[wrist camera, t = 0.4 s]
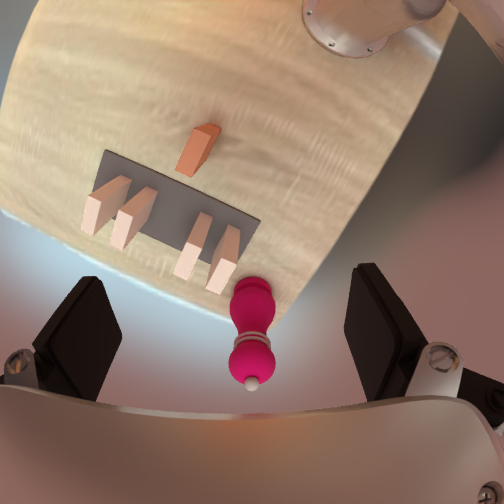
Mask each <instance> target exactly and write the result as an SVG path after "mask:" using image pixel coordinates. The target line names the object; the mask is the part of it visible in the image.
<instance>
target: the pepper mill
mask: <svg viewBox="0 0 504 504" xmlns="http://www.w3.org/2000/svg"><path fill="white" fill-rule="evenodd" d="M275 307H276V306H275V301H274V299H273V297H272V294H271V288H270V286H269V284H268V283H267V282H266V281H264V280H263V279H260V278H257V277H248V278H245V279H243V280H241V281H240V282H238V284H237V285H236V287H235V290H234V296H233V298H232V299H231V302H230V315H231V318H232V321H233V323H234V324H235V326H236V328H237V330H238V337H236V339H235V341H234V348H233V349H234V350H233V352H232V353H231V355H230V357H229V369H230V372H231V374H232V376H233V377H234V378H235V379H236V380H237V381H239V382H240V383H243V384H245V387H246V389H248V390H249V391H254V390H256V389H257V388H258V387H259V384H261V383H263V382H266V381H267V380H268V379H269V378H270V377H271V376H272V375H273V373H274V370H275V364H276V362H275V357H274V355H273V353H272V351H271V344H270V343H271V342H270V340H269V338H268V337H267V336H266V331H267V329H268V327H269V326H270V324H271V322H272V321H273V318H274V315H275Z"/></svg>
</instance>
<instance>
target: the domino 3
mask: <svg viewBox="0 0 504 504" xmlns="http://www.w3.org/2000/svg"><path fill="white" fill-rule="evenodd" d="M220 131H221V129H220V128H218V127H216V126H214V125H212V124H209V123H207V124H204V125H202V126H199V127H196V128H194V129H193V131H192V133H191V136H190V138H189V140H188V142H187V144H186V146H185V148H184V151H183V153H182V155H181V157H180V160H179V162H178V164H177V166H176V169H175V170H176V171H178V172H180V173H182V174H185V175H187V176H189V177H192V176H193V175H194V174H195V173H196V172H197V170H198V169H199V168H200V167H201V166H202V165H203V163H204V162H205V161H206V159H207V157H208V155H209V153H210V151H211V149H212V147H213V145H214V143H215V141H216V139H217V137H218V135H219V133H220Z"/></svg>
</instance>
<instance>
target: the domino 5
mask: <svg viewBox="0 0 504 504" xmlns="http://www.w3.org/2000/svg"><path fill="white" fill-rule="evenodd" d="M240 231H241V230H239V229H237V228H235V227H233V226H231V225H229V224H228V226H227V228H226V230H225V232H224V234H223V236H222V238H221V239H220V241H219V243H218V245H217V247H216V249H215V251H214V255H213V259H212V263H211V267H210V271H209V275H208V279H207V283H206V288H205V289H207V290H210V291H212V292H214V293H217V294H219V295H220V293H221V292H222V290H223V288H224V287H225V285H226V283H227V281H228V280H229V278H230V276H231V274H232V273H233V271H234V269H235V268H236V266H237V261H238V251H239V241H240Z"/></svg>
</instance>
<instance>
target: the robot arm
mask: <svg viewBox="0 0 504 504" xmlns="http://www.w3.org/2000/svg"><path fill="white" fill-rule="evenodd" d="M449 1H450V2H451V3H452V4H453V6H454V7H456V8H457V9H458V10H459V11H460V12H461V13H462V14H463V15H464V16H465V17H466V18H467V19H468V21H469V22H470V23H471V24H472V25H473V27H474V28H475V29H476V30H477V31H478V33H479V34H480V35H481V36H482V38H483V39H484V40H485V41H486V43H487V44H488V45H489V47H490V48H491V49H492V50H493V52H494V53H495V55H496V56H497V57H498V59H499V60H500V62H501V63H502V64H503V65H504V0H449ZM445 3H446V0H305V1H304V4H303V10H302V14H303V21H304V23H305V26H306V28H307V30H308V31H309V33H310V35H311V36H312V37H313V38H314V39H315V41H317V42H318V43H319V44H320V45H321V46H322V47H324V48H326V49H327V50H329V51H331V52H333V53H335V54H337V55H341V56H344V57H350V58H362V57H367V56H370V55H373V54H375V53H376V52H378V51H380V50H381V49H382V48H383V47H384V46H385V44H386V42H387V41H388V38H389V35H391V34H394V33H396V32H398V31H401V30H403V29H406V28H408V27H411V26H414V25H416V24H419V23H422V22H424V21H427V20H429V19H431V18H433V17H435V16H436V15H437V14H438V13H439V12H440V11H441V10H442V8H443V7H444V5H445ZM307 13H309V14H310V16H309V15H307ZM329 44H331V45H332V47H330V46H329ZM367 49H368V50H369V52H368V50H367ZM344 333H345V336H346V339H347V342H348V345H349V348H350V351H351V353H352V356H353V359H354V362H355V365H356V368H357V371H358V374H359V377H360V380H361V383H362V386H363V389H364V392H365V395H366V398H367V402H365V403H359V404H353V405H346V406H339V407H330V408H323V409H313V410H303V411H292V412H279V413H257V414H204V413H181V412H169V411H157V410H148V409H139V408H132V407H124V406H117V405H111V404H105V403H99V402H96V399H97V397H98V394H99V392H100V389H101V387H102V385H103V382H104V380H105V377H106V375H107V373H108V370H109V368H110V366H111V363H112V361H113V359H114V356H115V354H116V352H117V350H118V347H119V345H120V343H121V340H122V333H121V330H120V327H119V325H118V323H117V320H116V318H115V315H114V313H113V310H112V307H111V305H110V302H109V299H108V297H107V294H106V291H105V288H104V286H103V283H102V281H101V280H99V279H98V278H97V277H96V276H84V277H82V278H81V279H80V280H79V282H78V283H77V284H76V285H75V286H74V288H73V289H72V290H71V292H70V293H69V294H68V295H67V297H66V298H65V299H64V301H63V302H62V303H61V304H60V306H59V307H58V308H57V310H56V311H55V312H54V314H53V315H52V316H51V318H50V319H49V320H48V322H47V323H46V325H45V326H44V328H43V329H42V330H41V331H40V333H39V334H38V336H37V337H36V339H35V340H34V342H33V343H32V345H33V347H34V349H35V350H36V351H35V353H34V354H33V352H32V351H31V350H29V349H20V350H17V351H16V352H14V353H12V354H11V355H10V356H9V357H8V359H7V360H6V362H5V364H4V375H2V376H0V504H504V384H503V383H501V382H498V381H496V380H493V379H491V378H488V377H485V376H483V375H480V374H478V373H476V372H473V371H471V370H469V369H466V368H464V367H463V357H462V355H461V353H460V352H459V351H458V349H456V348H455V347H454V346H452V345H450V344H448V343H445V342H432V343H428V341H427V340H426V338H425V337H424V335H423V333H422V332H421V330H420V328H419V327H418V325H417V324H416V322H415V321H414V319H413V317H412V316H411V314H410V313H409V311H408V309H407V308H406V306H405V305H404V303H403V302H402V300H401V299H400V298H399V297H398V296H397V294H396V293H395V292H394V290H393V289H392V287H391V286H390V284H389V283H388V281H387V280H386V278H385V277H384V275H383V274H382V273H381V271H380V270H379V269H378V267H377V266H376V264H375V263H361V264H358V266H357V268H354V269H353V272H352V280H351V286H350V293H349V299H348V306H347V312H346V318H345V323H344Z"/></svg>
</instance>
